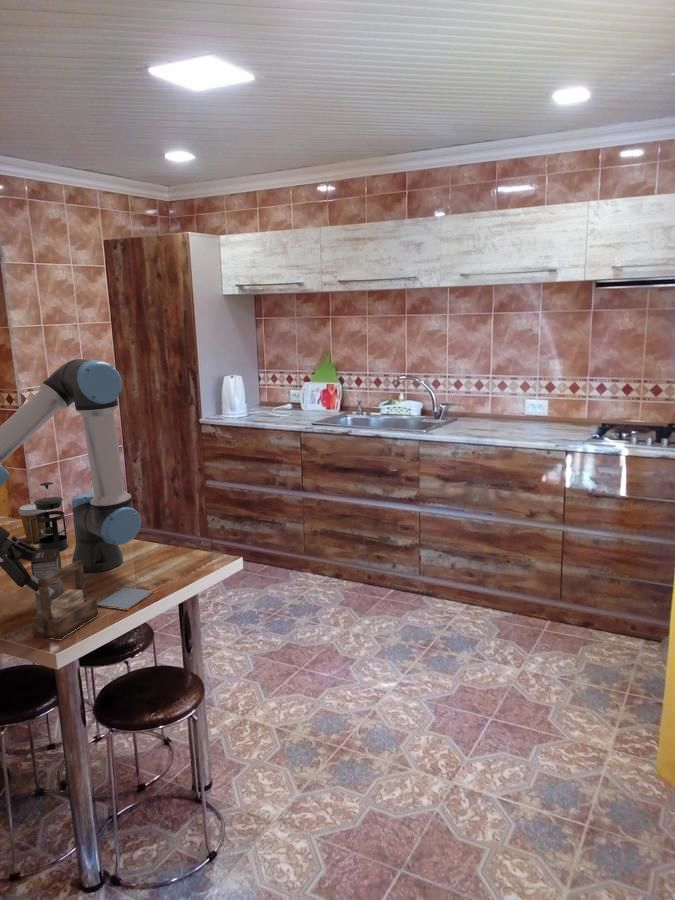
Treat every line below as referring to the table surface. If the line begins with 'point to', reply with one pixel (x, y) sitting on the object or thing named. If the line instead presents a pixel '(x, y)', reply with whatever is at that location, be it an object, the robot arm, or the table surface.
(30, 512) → the disposable coffee cup
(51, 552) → the coffee box
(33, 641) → the table surface
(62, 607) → the offcut rack
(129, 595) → the slate mat
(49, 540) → the french press
